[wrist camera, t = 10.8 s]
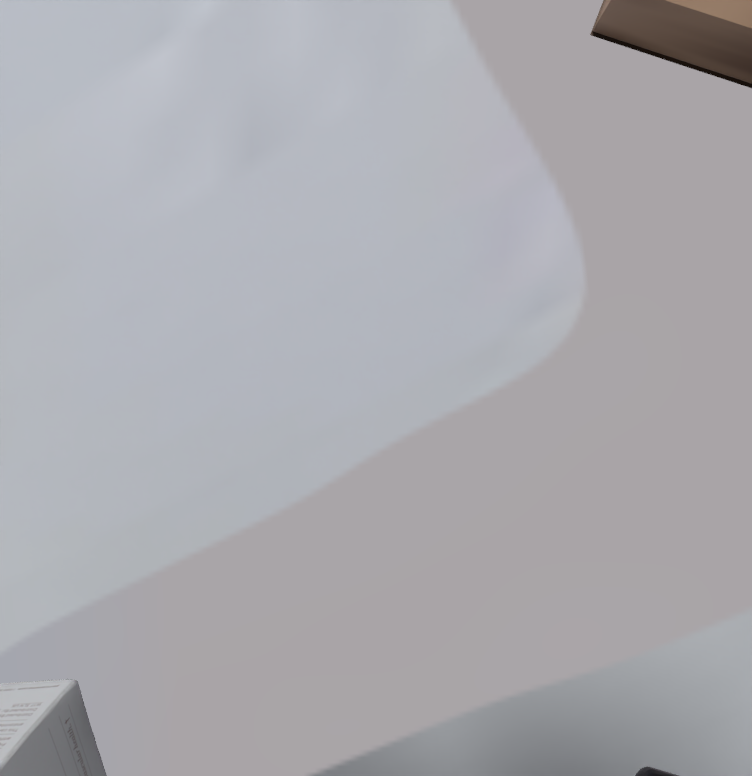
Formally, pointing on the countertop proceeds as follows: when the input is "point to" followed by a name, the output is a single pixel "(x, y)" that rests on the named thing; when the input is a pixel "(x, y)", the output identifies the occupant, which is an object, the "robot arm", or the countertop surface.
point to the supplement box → (46, 731)
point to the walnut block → (684, 33)
